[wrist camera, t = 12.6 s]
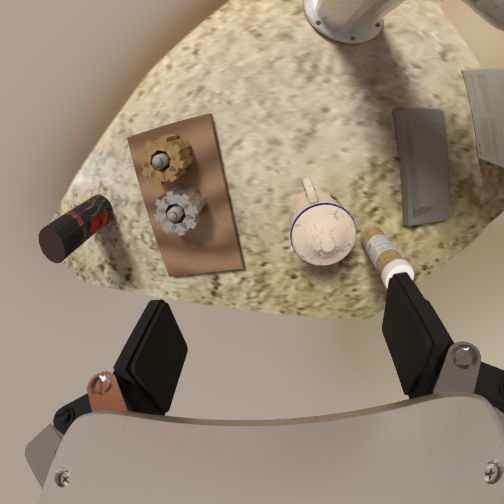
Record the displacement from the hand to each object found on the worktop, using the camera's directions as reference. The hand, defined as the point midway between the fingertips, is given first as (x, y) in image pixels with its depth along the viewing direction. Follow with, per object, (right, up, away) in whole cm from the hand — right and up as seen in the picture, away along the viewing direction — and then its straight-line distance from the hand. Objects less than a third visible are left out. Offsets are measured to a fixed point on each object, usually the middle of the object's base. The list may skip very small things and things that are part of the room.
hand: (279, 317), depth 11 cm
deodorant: (-30, +11, +35) cm, 47 cm away
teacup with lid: (+9, +10, +32) cm, 35 cm away
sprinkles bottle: (+20, +5, +34) cm, 39 cm away
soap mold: (+28, +17, +27) cm, 43 cm away
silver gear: (-12, +10, +32) cm, 35 cm away
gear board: (-12, +11, +33) cm, 37 cm away
